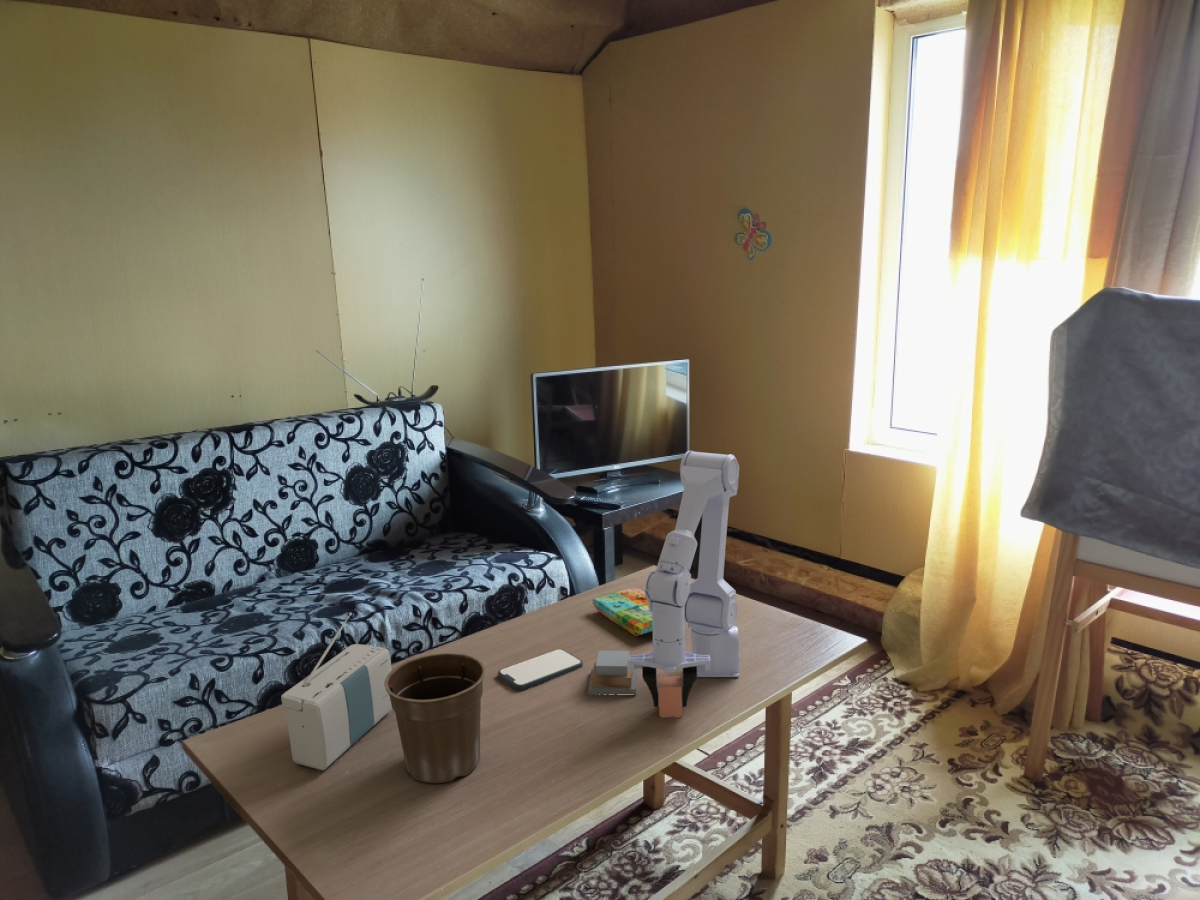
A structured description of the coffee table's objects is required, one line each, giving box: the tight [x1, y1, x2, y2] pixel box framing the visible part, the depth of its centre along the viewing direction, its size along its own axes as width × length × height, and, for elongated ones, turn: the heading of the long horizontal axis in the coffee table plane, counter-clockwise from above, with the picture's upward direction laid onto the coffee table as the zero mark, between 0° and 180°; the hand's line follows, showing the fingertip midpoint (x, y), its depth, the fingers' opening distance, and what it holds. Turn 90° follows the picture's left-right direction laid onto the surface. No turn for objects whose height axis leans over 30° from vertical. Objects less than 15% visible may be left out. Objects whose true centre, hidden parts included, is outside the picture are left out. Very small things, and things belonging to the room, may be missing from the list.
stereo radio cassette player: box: [280, 612, 393, 771], centre depth 147 cm, size 21×8×20 cm, turn 160°
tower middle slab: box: [592, 658, 633, 687], centre depth 164 cm, size 8×8×2 cm
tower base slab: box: [587, 665, 638, 696], centre depth 164 cm, size 9×9×2 cm
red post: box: [658, 675, 683, 716], centre depth 153 cm, size 4×4×6 cm
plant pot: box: [384, 652, 486, 784], centre depth 139 cm, size 16×16×16 cm
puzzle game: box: [592, 586, 653, 637], centre depth 191 cm, size 12×5×20 cm
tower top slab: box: [596, 649, 631, 676], centre depth 163 cm, size 6×6×2 cm
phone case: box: [497, 648, 584, 692], centre depth 170 cm, size 9×2×16 cm
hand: (670, 704), depth 153 cm, fingers open, 4 cm apart
